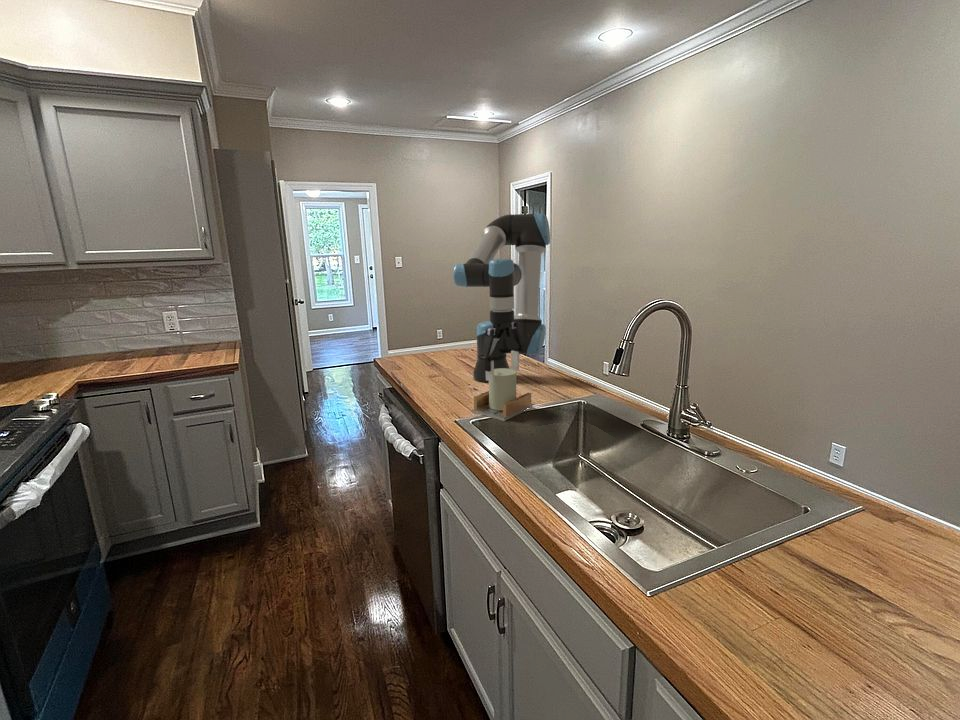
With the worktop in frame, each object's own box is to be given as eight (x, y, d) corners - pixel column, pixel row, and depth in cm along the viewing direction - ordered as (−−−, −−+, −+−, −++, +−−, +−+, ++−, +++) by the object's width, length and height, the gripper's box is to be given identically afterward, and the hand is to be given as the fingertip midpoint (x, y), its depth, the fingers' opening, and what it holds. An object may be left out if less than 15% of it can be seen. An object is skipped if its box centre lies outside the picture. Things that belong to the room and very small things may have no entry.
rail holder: (501, 399, 166) (501, 385, 165) (532, 406, 158) (533, 392, 157) (471, 412, 154) (471, 397, 153) (504, 421, 146) (504, 405, 145)
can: (483, 408, 154) (483, 372, 151) (496, 399, 162) (495, 365, 159) (509, 412, 150) (509, 375, 147) (521, 403, 157) (521, 368, 155)
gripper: (515, 303, 160) (515, 364, 165) (466, 314, 141) (468, 383, 147) (534, 305, 155) (533, 368, 161) (486, 317, 136) (488, 387, 142)
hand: (502, 375), depth 154 cm, fingers open, 13 cm apart
